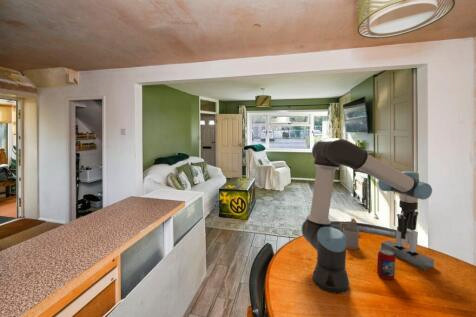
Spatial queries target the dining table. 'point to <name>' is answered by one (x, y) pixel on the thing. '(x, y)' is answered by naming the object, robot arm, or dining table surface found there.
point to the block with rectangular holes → (409, 255)
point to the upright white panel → (412, 238)
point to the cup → (351, 237)
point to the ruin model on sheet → (347, 224)
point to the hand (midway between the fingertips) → (406, 243)
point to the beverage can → (386, 264)
